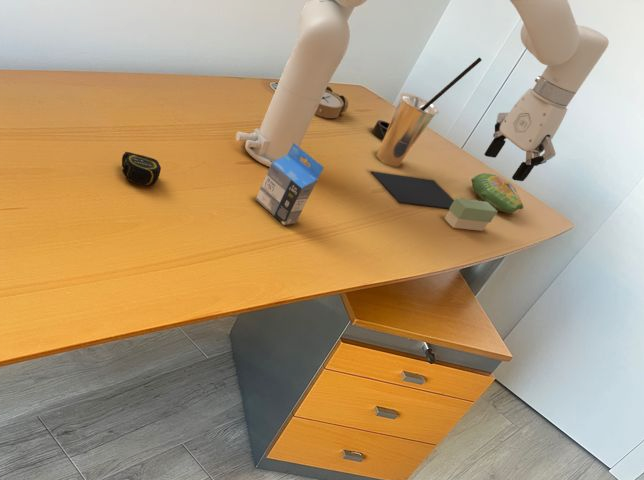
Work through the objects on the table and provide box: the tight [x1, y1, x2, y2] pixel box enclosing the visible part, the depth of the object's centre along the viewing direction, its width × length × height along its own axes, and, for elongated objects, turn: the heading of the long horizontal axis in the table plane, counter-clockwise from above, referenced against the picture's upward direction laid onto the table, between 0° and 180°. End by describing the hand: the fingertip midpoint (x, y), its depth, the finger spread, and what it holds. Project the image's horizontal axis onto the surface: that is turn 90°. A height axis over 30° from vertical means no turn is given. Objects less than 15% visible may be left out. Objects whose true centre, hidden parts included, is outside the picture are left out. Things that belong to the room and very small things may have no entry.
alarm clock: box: [314, 85, 349, 119], centre depth 189 cm, size 11×5×15 cm
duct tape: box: [371, 119, 390, 141], centre depth 188 cm, size 8×10×3 cm
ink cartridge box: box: [255, 143, 325, 226], centre depth 132 cm, size 9×4×12 cm, turn 37°
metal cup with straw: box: [376, 57, 483, 168], centre depth 167 cm, size 11×11×30 cm
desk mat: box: [370, 170, 455, 210], centre depth 167 cm, size 20×13×1 cm, turn 109°
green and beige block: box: [444, 197, 499, 232], centre depth 159 cm, size 10×4×6 cm, turn 109°
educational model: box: [470, 172, 524, 214], centre depth 176 cm, size 13×16×6 cm
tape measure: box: [121, 151, 162, 186], centre depth 126 cm, size 7×7×4 cm
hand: (503, 167), depth 151 cm, fingers open, 9 cm apart
